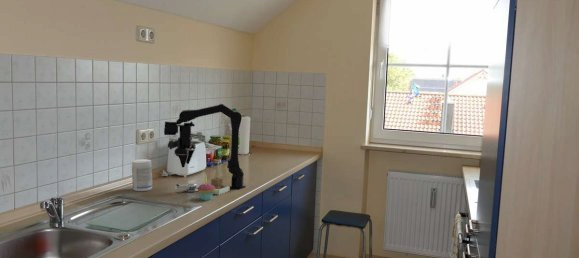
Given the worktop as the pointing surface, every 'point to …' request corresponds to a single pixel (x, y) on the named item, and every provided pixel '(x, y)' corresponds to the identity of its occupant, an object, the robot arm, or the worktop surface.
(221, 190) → the tray
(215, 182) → the stop block
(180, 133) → the robot arm
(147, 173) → the supplement tub
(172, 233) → the worktop surface
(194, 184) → the crank
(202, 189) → the cupcake
